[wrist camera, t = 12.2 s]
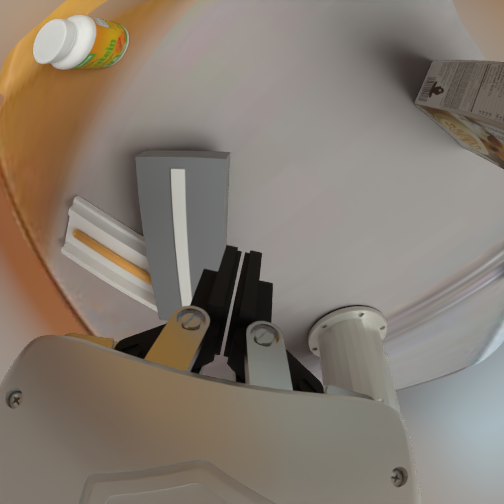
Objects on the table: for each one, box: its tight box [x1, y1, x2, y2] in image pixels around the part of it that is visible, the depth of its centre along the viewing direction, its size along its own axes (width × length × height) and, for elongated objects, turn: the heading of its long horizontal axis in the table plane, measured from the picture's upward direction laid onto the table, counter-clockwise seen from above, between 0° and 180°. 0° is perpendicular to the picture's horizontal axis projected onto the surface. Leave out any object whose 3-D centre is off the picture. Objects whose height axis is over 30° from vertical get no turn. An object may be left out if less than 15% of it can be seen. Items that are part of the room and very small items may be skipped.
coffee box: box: [414, 60, 504, 169], centre depth 13 cm, size 9×6×16 cm
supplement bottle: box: [33, 15, 129, 70], centre depth 15 cm, size 5×5×10 cm
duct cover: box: [135, 150, 230, 321], centre depth 28 cm, size 22×8×3 cm, turn 176°
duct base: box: [61, 195, 158, 312], centre depth 33 cm, size 22×9×2 cm, turn 56°
